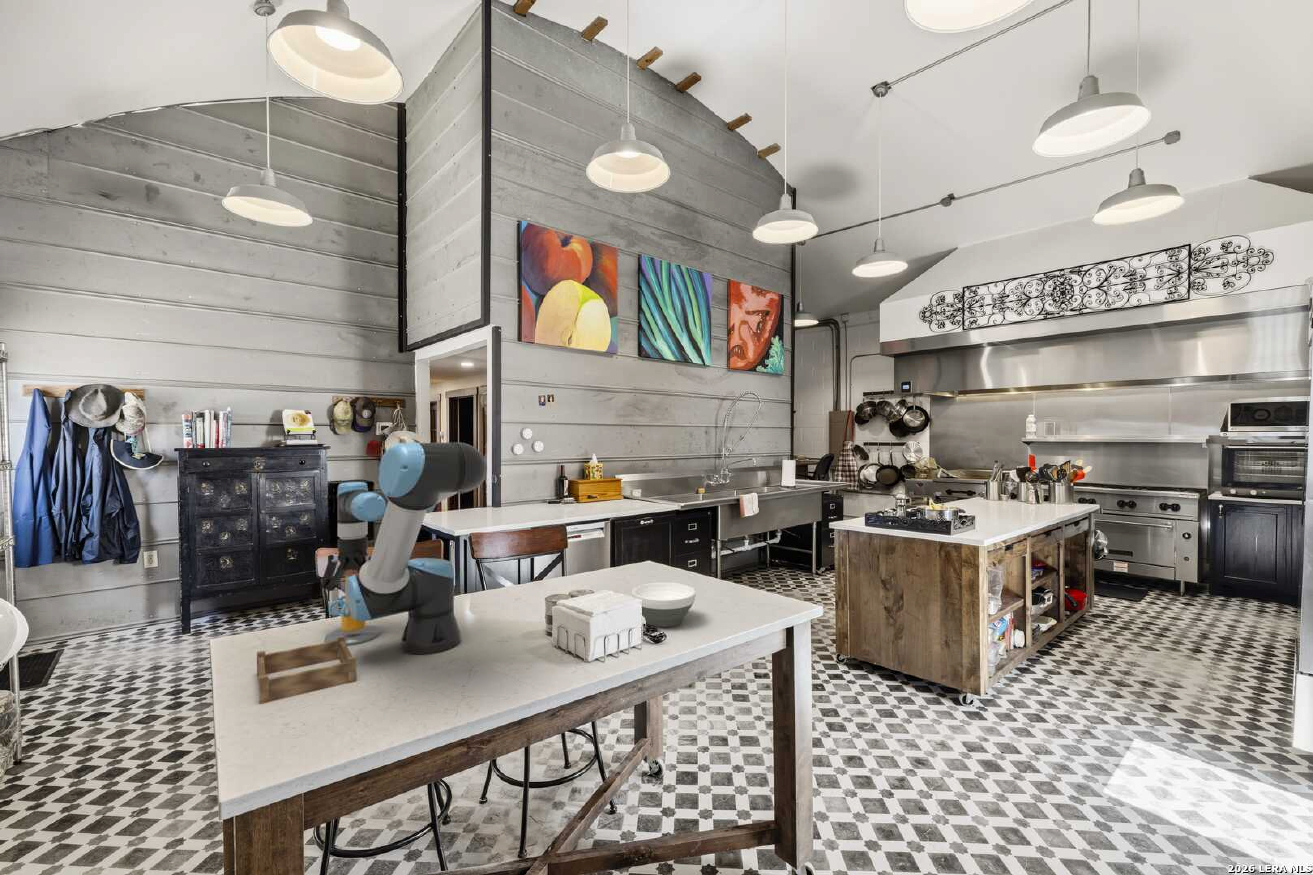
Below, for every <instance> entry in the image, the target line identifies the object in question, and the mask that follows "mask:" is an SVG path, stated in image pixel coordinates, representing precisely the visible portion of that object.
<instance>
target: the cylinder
mask: <svg viewBox="0 0 1313 875" xmlns="http://www.w3.org/2000/svg"><path fill="white" fill-rule="evenodd" d="M353 575H359V573H352V574H351V573H350V574H347V575H344V583H345V584H344V591H345V593H344V594H345V595H342V596H341V597H339V600H336V601H333V602H332V603H331V604H330V606H328V613H329V612H330V614H329V615H332V616H340V615H341V617H340V618H341V622H340V623H341V624H340V626H341V628H340V629H342V630H343V631H356V630H360V629H362V628H364V627H365V626H366V621H361V622H359V621H356V620H355V619H354V618H353V617H352V615H351V613H350V610H349V606H348V601H347V595H346V580H347V578H348V577H349V576H353ZM343 600H344V601H343ZM336 603H339V607H340V609H341V610H339V611H338V612H336V613H335V612H333V611H332V606H333V605H334V604H336Z"/></svg>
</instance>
